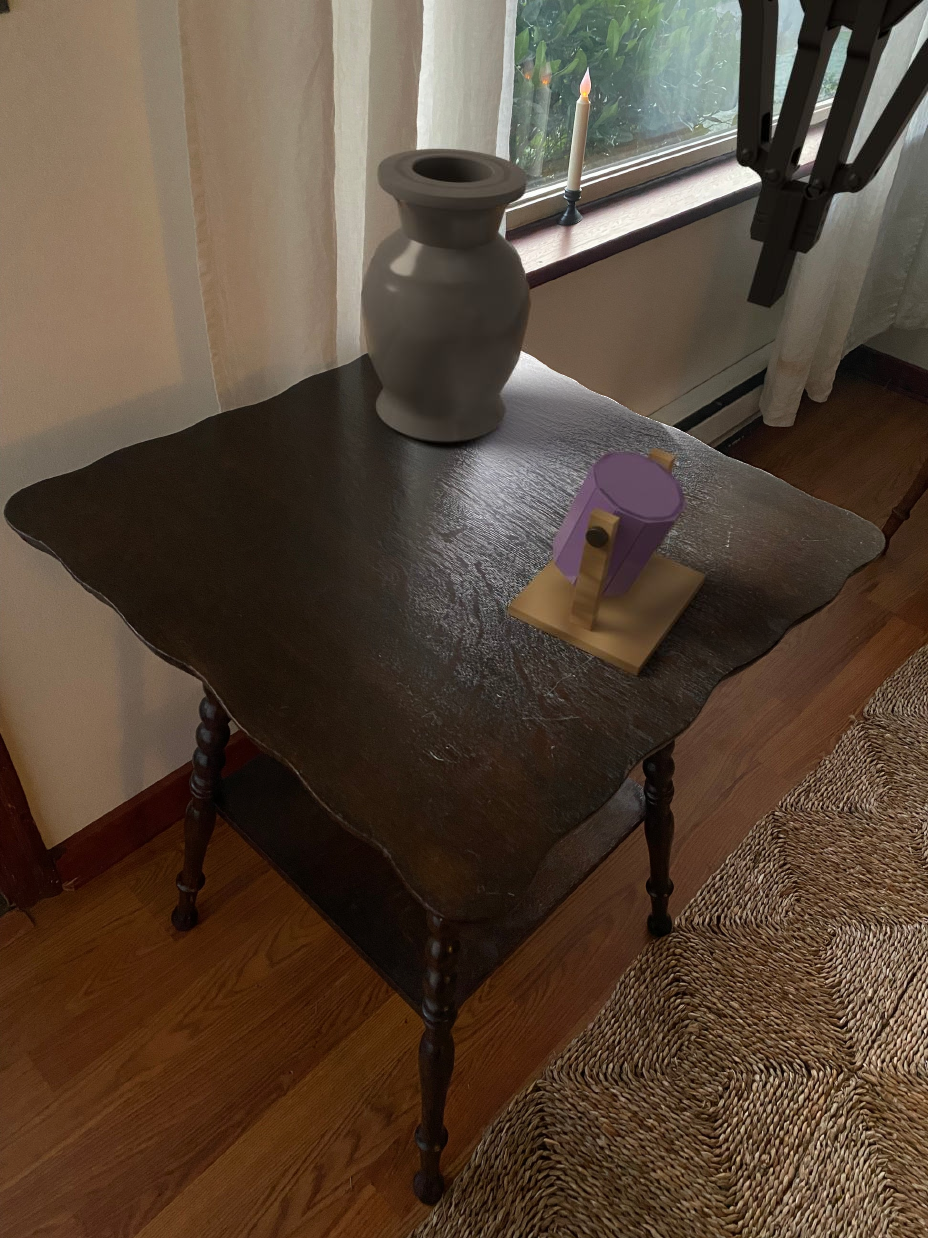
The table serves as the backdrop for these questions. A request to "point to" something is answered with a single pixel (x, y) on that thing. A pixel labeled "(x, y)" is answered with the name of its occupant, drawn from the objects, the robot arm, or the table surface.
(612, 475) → the cup
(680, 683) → the table surface
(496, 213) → the vase
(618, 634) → the swivel stand
